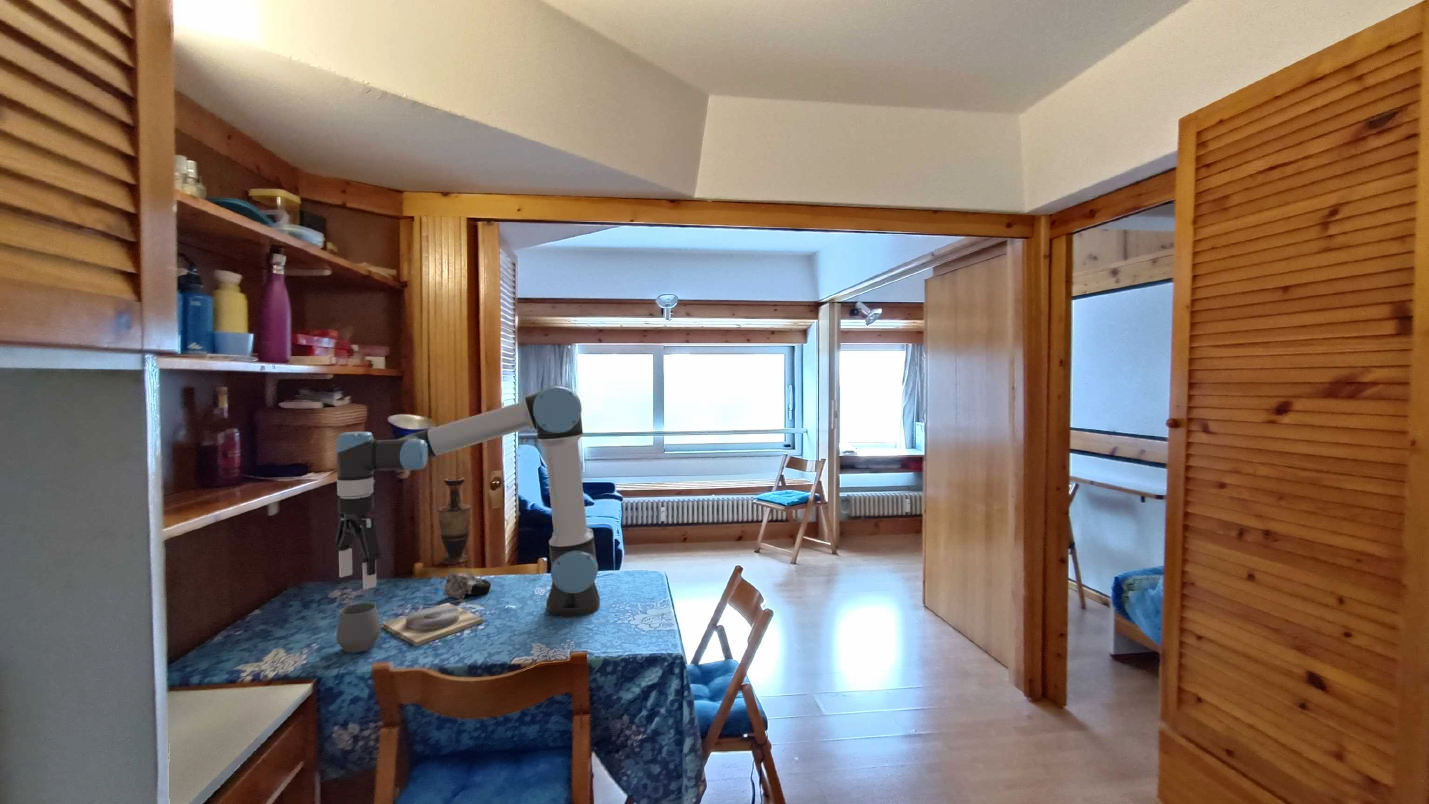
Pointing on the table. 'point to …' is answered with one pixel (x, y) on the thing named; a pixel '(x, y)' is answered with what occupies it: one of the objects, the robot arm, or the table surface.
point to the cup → (358, 627)
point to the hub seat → (432, 623)
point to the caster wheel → (465, 585)
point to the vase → (454, 524)
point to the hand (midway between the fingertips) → (357, 581)
